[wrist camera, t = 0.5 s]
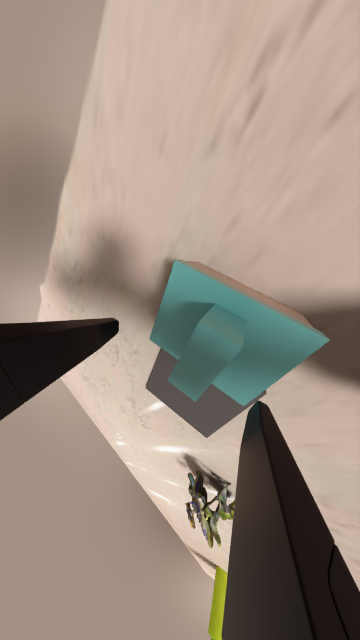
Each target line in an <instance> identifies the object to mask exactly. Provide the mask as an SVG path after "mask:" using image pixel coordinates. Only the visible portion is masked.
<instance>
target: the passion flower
mask: <svg viewBox="0 0 360 640" xmlns="http://www.w3.org/2000/svg"><path fill="white" fill-rule="evenodd" d="M196 474H197V477H196V479H195V480H194V478H193V475H192V474H191V473H188V477H189V480H190V483H189V493H190V494H191V496H192V502H190V503H191V504H192V507H193V508H194V510H191V508H190V503H189V502H188V503H186V506H187V513H188V519H189V521H190V522H191V527H192V528H194V529H195V522H194V518H193V515H194V513H197V518H198V519H199V523H201V528H202V531H203V534H204V536H206V540H208V545H209V547H210V548H212V547H213V536H214V538H215V540H216V541H217V543H218V546H219V548H220V547H221V540H220V537H219V534H218V532H217V522H218V520H219V518H220V516H221V518H222V520H226V519H230V520H231V519H233V516H234V505H235V500H234V502H233V503H231V504H229V505H228V506H227V505H226V500H227V497H226V492H227V488H228V486H229V485H230V483H229V484H228V485H227V486H226V487H225V488H224V489H221V490H220V491H219V492H218V494H217V496H215V498H214V499H213V500H212V501H211V502H208V503H207V492H206V489H205V488H204V487H203V475H202V473H201V472H198V470H197V471H196ZM215 500H218V501H219V504H218V507H217V508H216V511H212V510H211V509H209V505H211V504H212V503H213V502H214V501H215Z"/></svg>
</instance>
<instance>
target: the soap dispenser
mask: <svg viewBox="0 0 360 640" xmlns="http://www.w3.org/2000/svg"><path fill="white" fill-rule="evenodd" d="M227 575H228V574H227V573H226V572H225V571H224V570H222V569H221V568H220V567H218V566H217V568H216V576H215V584H214V591H213V600H212V608H211V615H210V622H209V630H208V633H209V634H210V636H211V638H212V639H211V640H222V637H221V635H222V625H223V615H224V605H225V595H226V585H227Z"/></svg>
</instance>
